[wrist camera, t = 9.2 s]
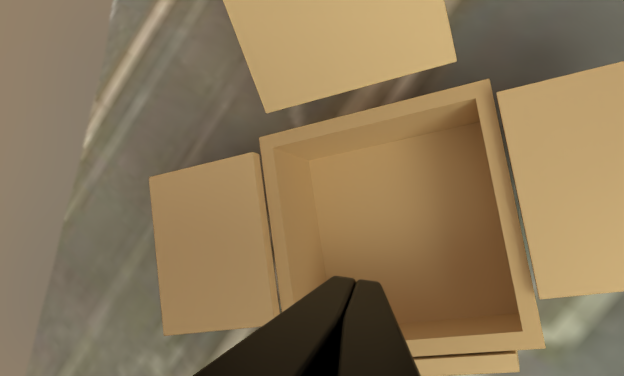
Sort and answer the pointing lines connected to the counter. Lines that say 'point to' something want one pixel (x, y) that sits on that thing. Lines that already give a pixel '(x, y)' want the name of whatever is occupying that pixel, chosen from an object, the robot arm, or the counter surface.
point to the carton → (410, 217)
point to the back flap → (336, 44)
